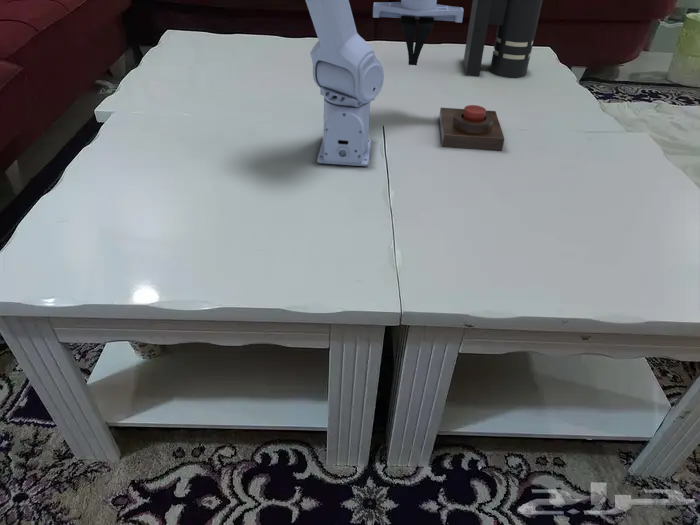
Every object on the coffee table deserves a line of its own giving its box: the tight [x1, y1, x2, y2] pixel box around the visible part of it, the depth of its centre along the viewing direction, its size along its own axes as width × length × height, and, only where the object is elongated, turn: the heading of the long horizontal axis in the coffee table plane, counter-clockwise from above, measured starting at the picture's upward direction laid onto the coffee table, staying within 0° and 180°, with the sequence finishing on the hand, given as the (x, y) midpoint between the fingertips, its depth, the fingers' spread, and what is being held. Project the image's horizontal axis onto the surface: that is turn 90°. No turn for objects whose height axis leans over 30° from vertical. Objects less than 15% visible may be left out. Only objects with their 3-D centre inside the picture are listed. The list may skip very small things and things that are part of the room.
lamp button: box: [463, 104, 487, 122], centre depth 97 cm, size 4×4×2 cm
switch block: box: [438, 107, 505, 151], centre depth 100 cm, size 12×10×4 cm
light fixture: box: [462, 0, 544, 78], centre depth 124 cm, size 10×14×18 cm
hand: (412, 63), depth 98 cm, fingers closed
